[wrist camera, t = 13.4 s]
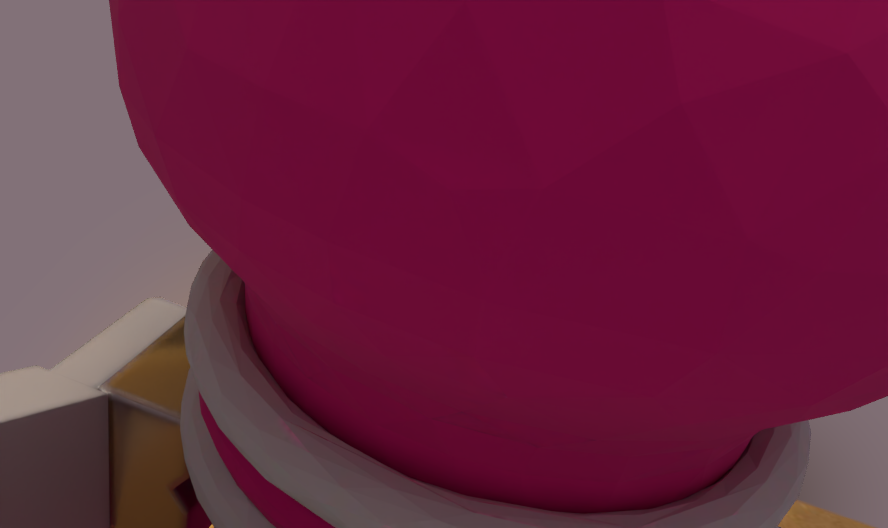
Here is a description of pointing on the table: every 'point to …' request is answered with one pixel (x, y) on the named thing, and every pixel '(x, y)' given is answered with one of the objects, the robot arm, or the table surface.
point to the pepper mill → (518, 252)
